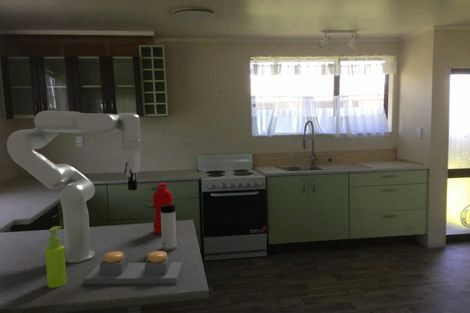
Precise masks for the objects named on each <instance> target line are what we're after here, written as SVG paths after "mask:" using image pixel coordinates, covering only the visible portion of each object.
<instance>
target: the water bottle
mask: <svg viewBox="0 0 470 313" xmlns="http://www.w3.org/2000/svg"><path fill="white" fill-rule="evenodd" d="M167 187H168V184H167V183H166V182H161V183H157V188H156V190H155V191H154V192H153V194H152V197H151V198H150V201H153V208H152V210H154V211H155V215H154V218H153V219H154V220H153V231H154V233H156V234H158V235H162V234H161V206H162V205H173V204H172V203H173V194H172V192H171V191H170V190H169V189H168V188H167ZM151 203H152V202H150V208H149V209H151Z"/></svg>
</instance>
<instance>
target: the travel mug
mask: <svg viewBox="0 0 470 313" xmlns="http://www.w3.org/2000/svg"><path fill="white" fill-rule="evenodd" d="M176 222H177V221H176V205H175V204H171V205H162V206H161V234H160V235H161V249H162V251H165V252H166V251H167V252H168V251H174V250H176V249H177V230H176V229H177V228H176Z"/></svg>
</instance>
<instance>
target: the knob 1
mask: <svg viewBox="0 0 470 313" xmlns="http://www.w3.org/2000/svg"><path fill="white" fill-rule="evenodd" d="M123 256H124V252H122V251H119V250H118V251H117V250H116V251H109V252H106V253H104V255H103V260H104V262H106V263H120V261H122V260H123Z"/></svg>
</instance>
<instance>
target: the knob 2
mask: <svg viewBox="0 0 470 313" xmlns="http://www.w3.org/2000/svg"><path fill="white" fill-rule="evenodd" d="M167 254H168V253H167V252H166V251H165V250H156V251H152V252H151V251H150V252H149V253H148V254H147V259H148V261H149V262H151V263H164V261H165V260H166V259H167Z"/></svg>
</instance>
